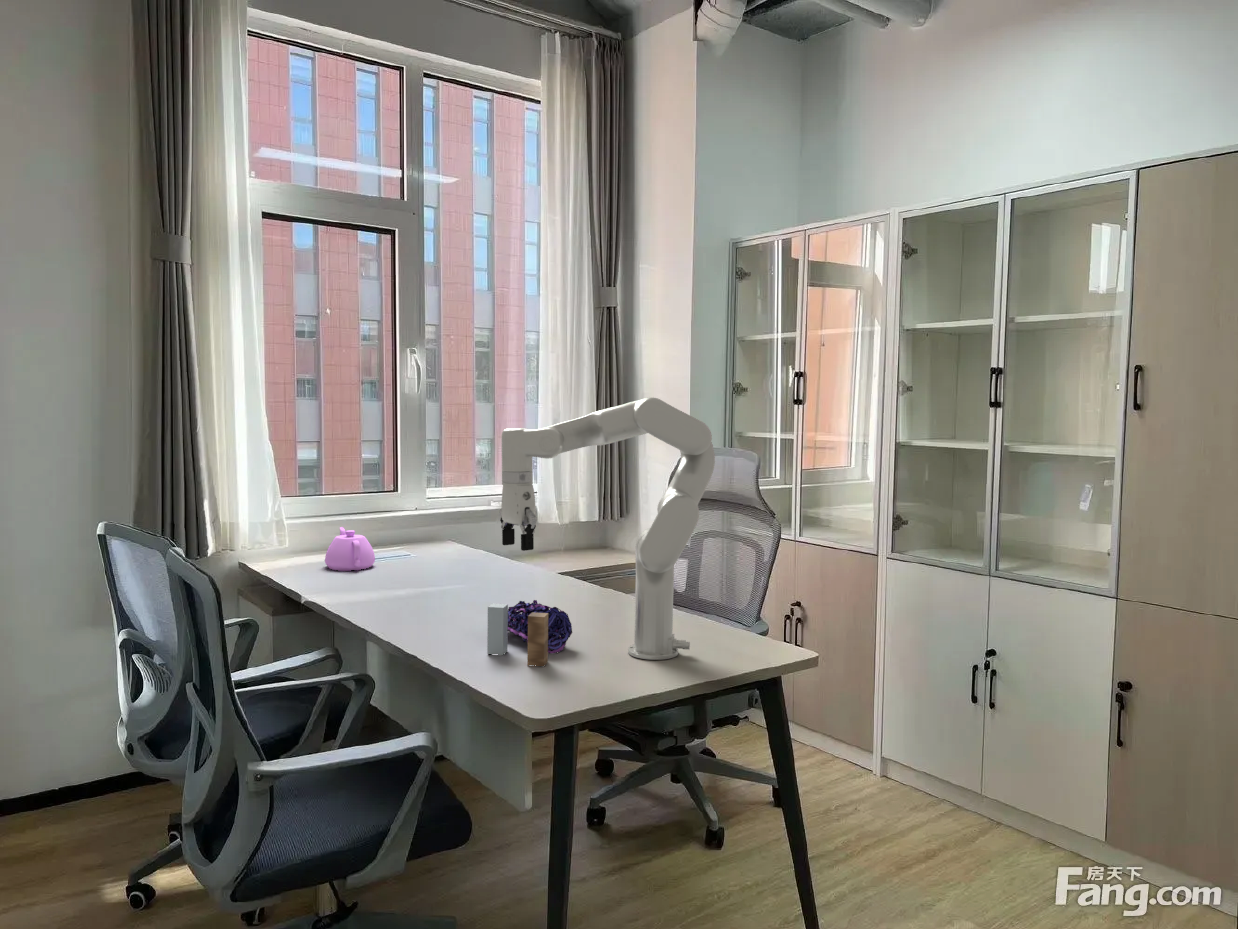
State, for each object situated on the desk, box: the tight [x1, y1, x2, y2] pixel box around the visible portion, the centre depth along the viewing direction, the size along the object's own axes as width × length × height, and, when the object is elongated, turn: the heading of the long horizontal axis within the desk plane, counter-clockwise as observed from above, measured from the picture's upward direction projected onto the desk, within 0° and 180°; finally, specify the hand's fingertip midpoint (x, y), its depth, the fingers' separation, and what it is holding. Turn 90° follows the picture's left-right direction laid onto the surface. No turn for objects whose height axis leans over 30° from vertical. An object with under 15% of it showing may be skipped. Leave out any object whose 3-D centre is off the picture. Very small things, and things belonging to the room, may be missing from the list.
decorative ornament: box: [508, 599, 573, 654], centre depth 241 cm, size 13×11×30 cm
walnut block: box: [526, 612, 549, 667], centre depth 219 cm, size 4×4×12 cm
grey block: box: [486, 603, 509, 656], centre depth 228 cm, size 4×4×12 cm
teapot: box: [324, 526, 376, 572], centre depth 338 cm, size 25×18×14 cm
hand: (517, 547), depth 227 cm, fingers open, 9 cm apart
